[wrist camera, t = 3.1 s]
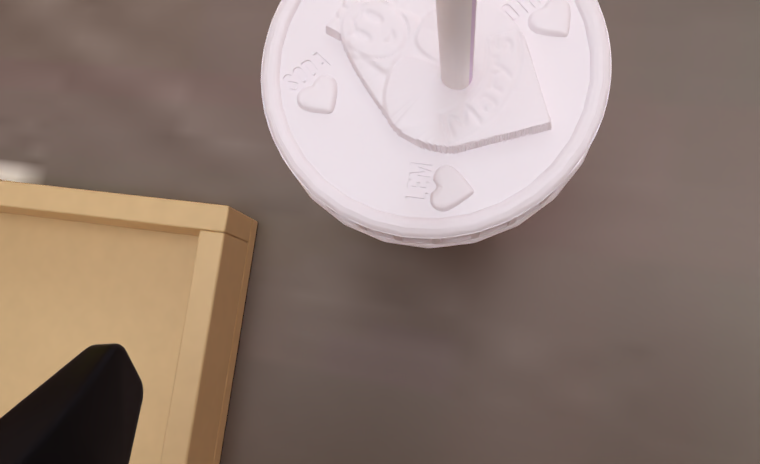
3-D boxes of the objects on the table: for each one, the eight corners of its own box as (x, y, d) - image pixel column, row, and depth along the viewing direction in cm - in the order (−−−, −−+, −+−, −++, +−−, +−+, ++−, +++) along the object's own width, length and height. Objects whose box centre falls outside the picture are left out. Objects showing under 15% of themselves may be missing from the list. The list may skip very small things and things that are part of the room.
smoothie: (479, 320, 20) (521, 301, 6) (310, 219, 21) (36, 16, 7) (580, 148, 20) (830, -222, 7) (410, 58, 22) (323, -414, 8)
